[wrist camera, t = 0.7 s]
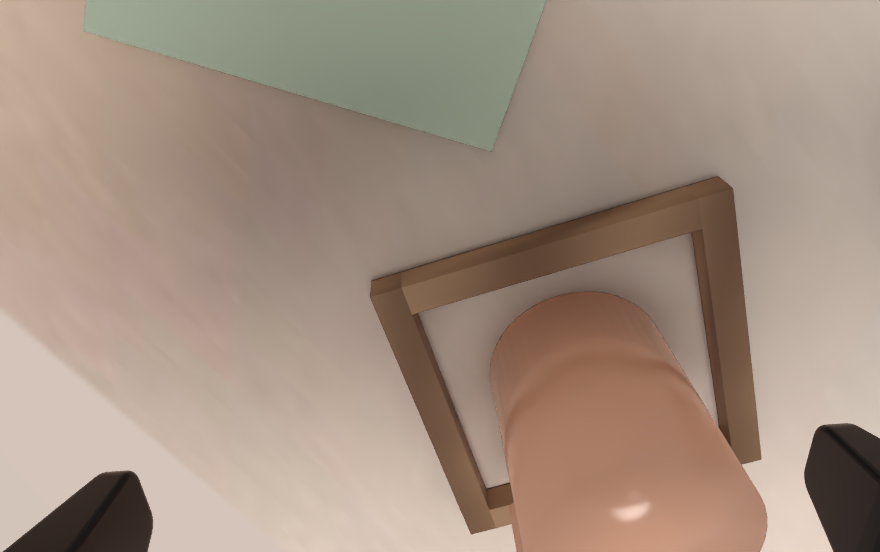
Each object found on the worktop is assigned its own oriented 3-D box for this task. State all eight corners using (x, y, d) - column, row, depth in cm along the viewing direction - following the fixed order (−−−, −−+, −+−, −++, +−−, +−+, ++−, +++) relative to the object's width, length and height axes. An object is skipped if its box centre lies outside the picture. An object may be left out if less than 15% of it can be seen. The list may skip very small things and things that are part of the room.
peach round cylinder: (549, 263, 21) (615, 421, 15) (698, 333, 23) (818, 503, 16) (440, 427, 24) (455, 620, 18) (579, 478, 26) (640, 673, 19)
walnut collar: (718, 176, 20) (732, 188, 19) (748, 440, 25) (761, 459, 24) (371, 281, 21) (370, 297, 20) (468, 513, 26) (470, 534, 25)
